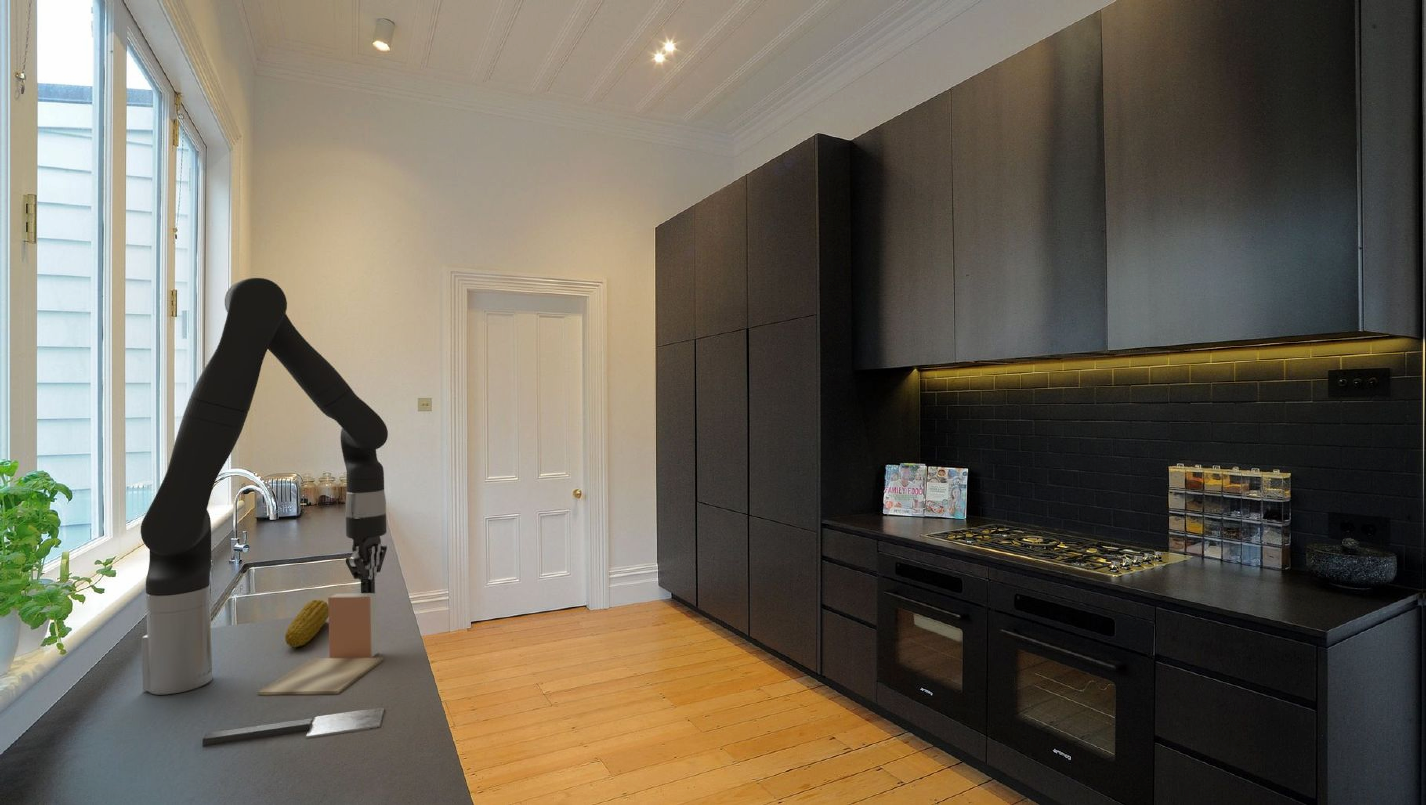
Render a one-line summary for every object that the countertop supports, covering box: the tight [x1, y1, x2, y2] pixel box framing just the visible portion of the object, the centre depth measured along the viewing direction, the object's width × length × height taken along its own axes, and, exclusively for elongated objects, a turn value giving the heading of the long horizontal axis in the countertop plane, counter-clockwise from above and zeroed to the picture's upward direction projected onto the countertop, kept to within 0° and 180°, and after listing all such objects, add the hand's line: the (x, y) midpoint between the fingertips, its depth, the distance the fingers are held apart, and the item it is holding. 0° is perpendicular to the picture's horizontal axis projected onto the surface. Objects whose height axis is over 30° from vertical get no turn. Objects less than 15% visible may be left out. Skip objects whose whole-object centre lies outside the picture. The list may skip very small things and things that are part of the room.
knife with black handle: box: [202, 706, 385, 748], centre depth 112 cm, size 24×7×1 cm, turn 108°
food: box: [284, 599, 329, 648], centre depth 157 cm, size 21×6×6 cm, turn 17°
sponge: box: [327, 592, 379, 658], centre depth 144 cm, size 8×3×12 cm, turn 88°
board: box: [257, 657, 384, 696], centre depth 133 cm, size 14×16×1 cm
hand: (368, 596), depth 150 cm, fingers closed
